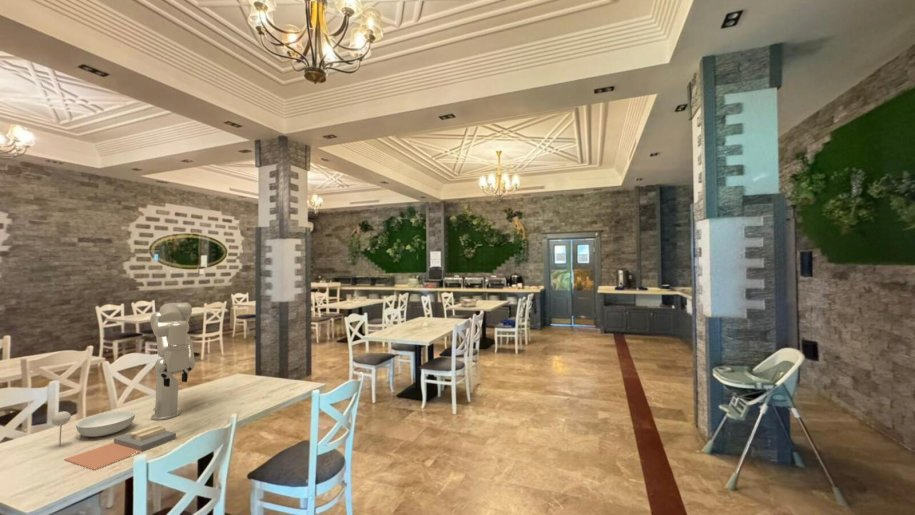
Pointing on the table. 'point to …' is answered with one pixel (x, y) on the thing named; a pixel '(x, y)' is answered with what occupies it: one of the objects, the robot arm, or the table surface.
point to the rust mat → (102, 456)
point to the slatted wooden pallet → (147, 432)
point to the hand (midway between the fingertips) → (175, 383)
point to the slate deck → (145, 443)
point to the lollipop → (61, 421)
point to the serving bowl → (105, 423)
